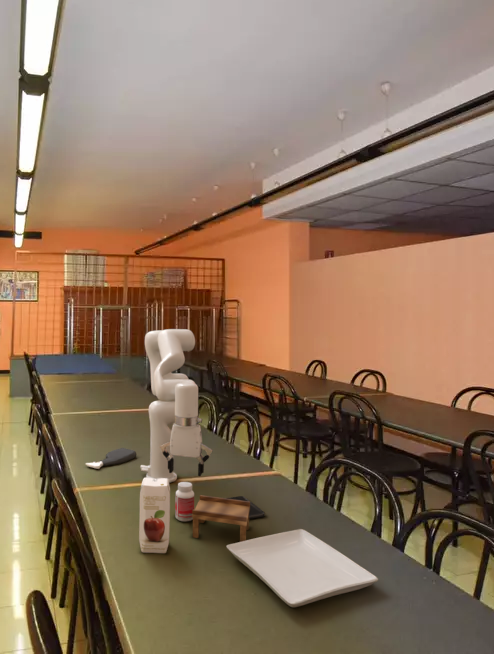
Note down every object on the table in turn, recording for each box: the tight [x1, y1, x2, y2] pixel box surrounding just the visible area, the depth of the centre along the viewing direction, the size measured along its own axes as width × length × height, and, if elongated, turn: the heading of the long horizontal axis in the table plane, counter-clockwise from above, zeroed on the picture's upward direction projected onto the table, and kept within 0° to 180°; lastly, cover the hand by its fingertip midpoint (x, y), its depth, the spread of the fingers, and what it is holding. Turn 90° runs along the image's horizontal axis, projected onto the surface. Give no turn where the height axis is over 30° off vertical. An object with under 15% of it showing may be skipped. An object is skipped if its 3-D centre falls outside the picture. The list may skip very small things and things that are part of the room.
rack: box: [192, 494, 251, 542], centre depth 138 cm, size 16×12×8 cm
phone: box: [225, 495, 266, 520], centre depth 155 cm, size 8×1×15 cm
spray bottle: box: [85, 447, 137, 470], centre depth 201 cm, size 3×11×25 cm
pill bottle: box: [174, 481, 195, 523], centre depth 147 cm, size 6×6×11 cm
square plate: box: [226, 528, 379, 608], centre depth 116 cm, size 27×27×4 cm
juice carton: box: [138, 476, 171, 554], centre depth 128 cm, size 8×9×19 cm
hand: (185, 473), depth 147 cm, fingers open, 9 cm apart
